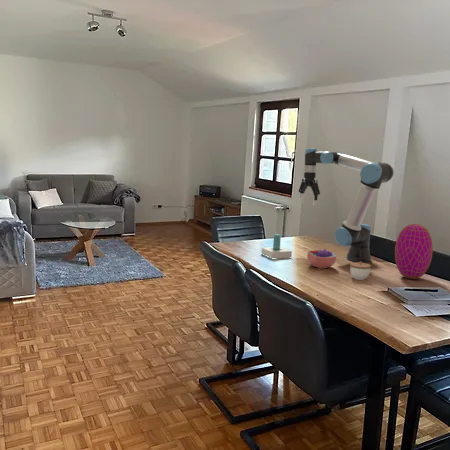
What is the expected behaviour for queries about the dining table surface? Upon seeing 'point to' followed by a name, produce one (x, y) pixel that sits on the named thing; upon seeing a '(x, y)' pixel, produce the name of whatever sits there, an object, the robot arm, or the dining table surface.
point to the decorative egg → (413, 251)
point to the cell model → (321, 258)
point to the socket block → (277, 252)
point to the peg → (276, 242)
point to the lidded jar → (360, 270)
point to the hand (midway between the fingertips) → (308, 204)
